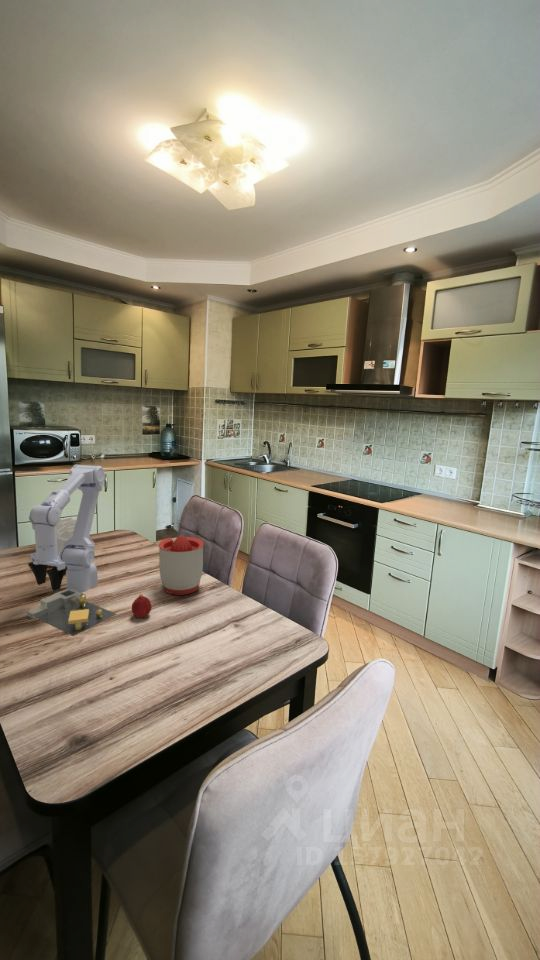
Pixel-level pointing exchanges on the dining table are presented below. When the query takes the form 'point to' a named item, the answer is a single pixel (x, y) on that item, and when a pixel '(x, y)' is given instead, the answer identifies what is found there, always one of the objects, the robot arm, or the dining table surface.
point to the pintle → (82, 600)
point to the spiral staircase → (66, 532)
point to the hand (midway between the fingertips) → (48, 586)
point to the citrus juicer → (181, 564)
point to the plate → (61, 622)
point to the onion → (141, 606)
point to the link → (55, 602)
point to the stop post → (99, 613)
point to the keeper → (78, 618)
